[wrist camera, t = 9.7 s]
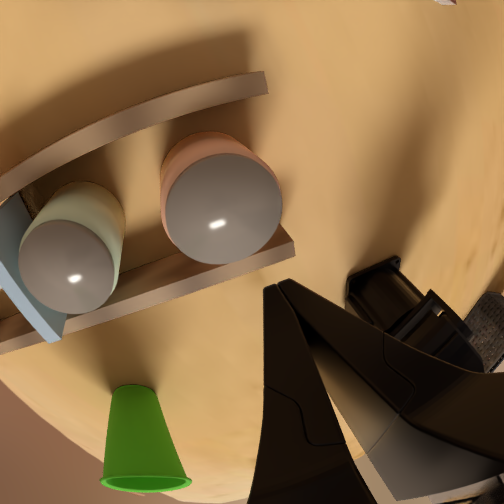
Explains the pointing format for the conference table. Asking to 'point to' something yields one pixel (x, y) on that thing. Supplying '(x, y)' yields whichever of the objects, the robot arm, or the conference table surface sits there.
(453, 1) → the picture frame
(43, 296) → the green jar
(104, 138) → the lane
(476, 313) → the storage bin
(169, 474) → the cup
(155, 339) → the conference table surface
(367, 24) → the conference table surface
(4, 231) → the pusher
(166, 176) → the jar
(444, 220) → the conference table surface
